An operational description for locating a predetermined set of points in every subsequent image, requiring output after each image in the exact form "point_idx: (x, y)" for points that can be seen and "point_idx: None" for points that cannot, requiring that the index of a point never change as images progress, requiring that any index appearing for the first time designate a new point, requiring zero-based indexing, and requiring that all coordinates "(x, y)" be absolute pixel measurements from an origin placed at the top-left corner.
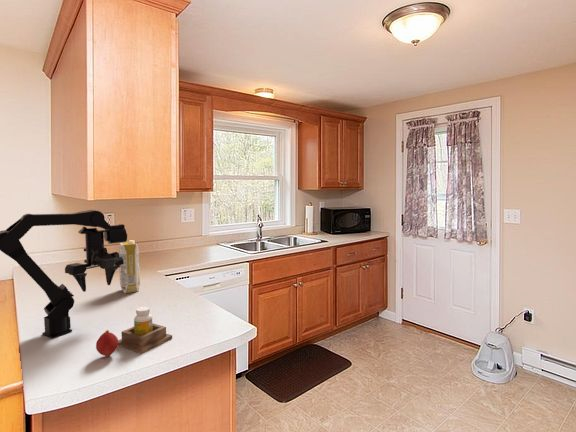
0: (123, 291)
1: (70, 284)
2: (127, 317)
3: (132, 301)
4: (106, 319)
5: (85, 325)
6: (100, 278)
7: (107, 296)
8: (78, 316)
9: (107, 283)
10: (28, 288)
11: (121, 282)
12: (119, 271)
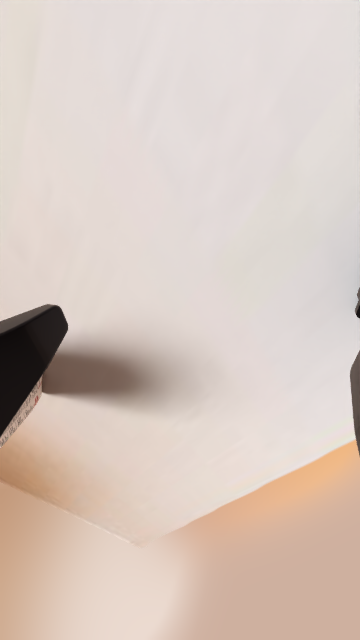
0: (40, 378)
1: (117, 480)
2: (110, 146)
3: (38, 303)
4: (187, 224)
5: (288, 245)
6: (62, 459)
7: (85, 391)
8: (226, 350)
9: (59, 336)
10: (177, 515)
11: (24, 405)
12: (2, 445)
